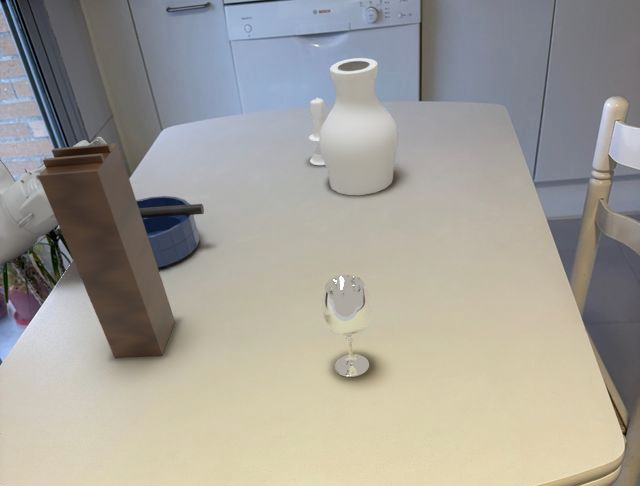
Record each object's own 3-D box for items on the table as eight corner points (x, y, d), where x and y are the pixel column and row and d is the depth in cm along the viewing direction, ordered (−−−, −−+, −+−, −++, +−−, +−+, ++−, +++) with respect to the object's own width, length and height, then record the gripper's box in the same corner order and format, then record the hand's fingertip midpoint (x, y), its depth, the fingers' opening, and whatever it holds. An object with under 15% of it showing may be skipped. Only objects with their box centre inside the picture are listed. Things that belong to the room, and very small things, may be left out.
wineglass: (382, 359, 84) (378, 278, 75) (359, 385, 81) (352, 304, 72) (344, 347, 86) (336, 268, 78) (321, 372, 83) (310, 292, 75)
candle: (314, 154, 134) (307, 92, 125) (339, 154, 132) (333, 92, 124) (306, 165, 130) (299, 102, 122) (332, 166, 129) (326, 102, 120)
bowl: (101, 275, 108) (88, 242, 103) (127, 230, 118) (116, 199, 114) (189, 270, 106) (180, 236, 101) (207, 225, 116) (199, 193, 112)
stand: (114, 357, 91) (34, 168, 72) (130, 324, 96) (60, 140, 78) (162, 355, 90) (94, 163, 71) (175, 321, 95) (115, 135, 77)
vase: (313, 176, 126) (299, 64, 112) (379, 158, 129) (374, 46, 115) (340, 205, 116) (329, 85, 102) (412, 184, 119) (411, 65, 105)
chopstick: (88, 224, 109) (84, 218, 107) (89, 216, 109) (85, 210, 108) (203, 216, 106) (200, 209, 105) (204, 208, 107) (201, 201, 105)
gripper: (-4, 216, 98) (52, 164, 92) (46, 161, 112) (97, 113, 106) (30, 247, 101) (87, 199, 95) (75, 190, 116) (126, 145, 109)
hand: (93, 153), depth 101 cm, fingers open, 8 cm apart
